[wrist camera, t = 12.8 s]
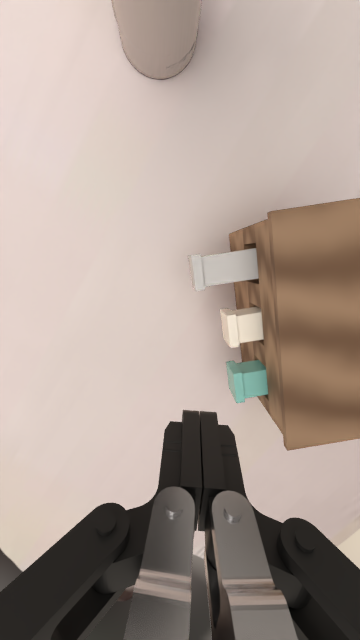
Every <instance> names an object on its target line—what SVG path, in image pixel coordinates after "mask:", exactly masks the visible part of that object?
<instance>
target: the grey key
mask: <svg viewBox="0 0 360 640" xmlns="http://www.w3.org/2000/svg"><path fill="white" fill-rule="evenodd" d="M188 259H189V267H190V274H191V281H192V288H193V289H194V290H195V291H201V290H205V287H207V286H213V285H219V284H226V283H232V282H239V281H245V280H251V279H258V278H259V276H258V264H257V252H256V248H253V249H246V250H240V251H233V252H227V253H220V254H214V255H207V256H201V254H196V255H190V256H188Z"/></svg>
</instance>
